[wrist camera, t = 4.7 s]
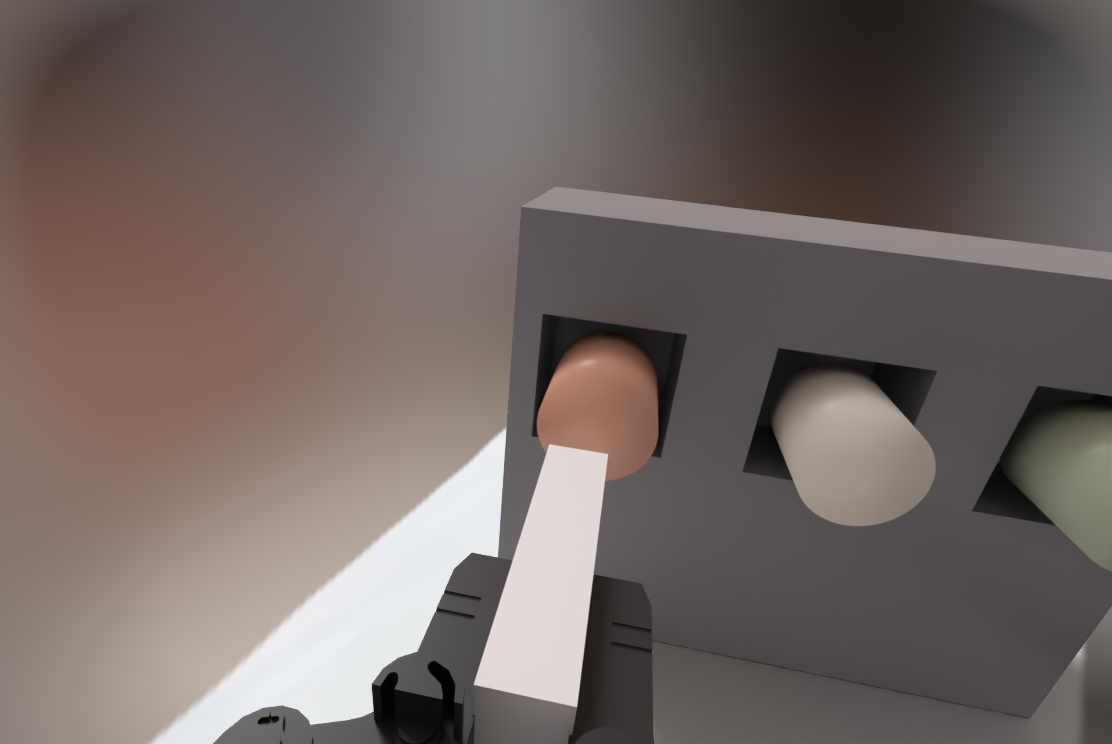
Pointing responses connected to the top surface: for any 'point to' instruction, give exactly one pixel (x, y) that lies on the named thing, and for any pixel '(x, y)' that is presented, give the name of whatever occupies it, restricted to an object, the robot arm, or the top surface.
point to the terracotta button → (603, 401)
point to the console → (758, 463)
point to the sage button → (1068, 471)
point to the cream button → (849, 446)
